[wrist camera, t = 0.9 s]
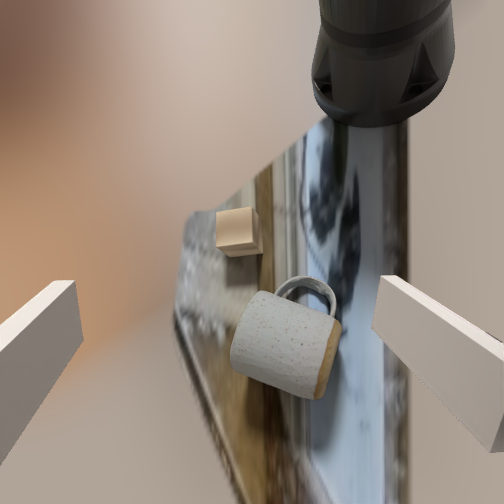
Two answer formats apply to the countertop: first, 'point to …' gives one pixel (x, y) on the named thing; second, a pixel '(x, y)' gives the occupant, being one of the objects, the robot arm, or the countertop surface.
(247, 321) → the ceramic mug
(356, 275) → the countertop surface
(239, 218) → the birch block
